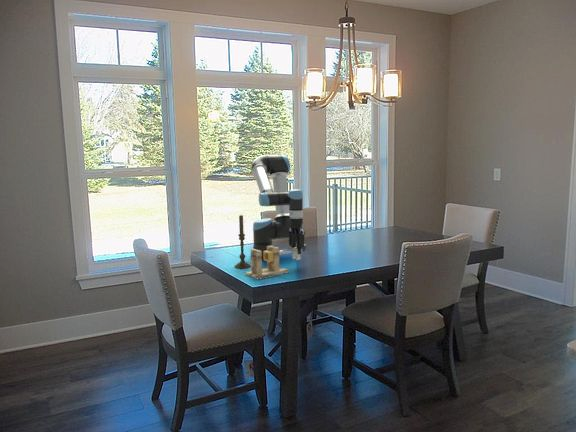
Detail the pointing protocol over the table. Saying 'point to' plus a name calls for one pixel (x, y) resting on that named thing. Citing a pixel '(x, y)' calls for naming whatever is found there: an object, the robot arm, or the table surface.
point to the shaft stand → (271, 266)
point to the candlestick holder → (241, 237)
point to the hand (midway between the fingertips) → (296, 259)
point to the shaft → (293, 250)
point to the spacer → (268, 256)
